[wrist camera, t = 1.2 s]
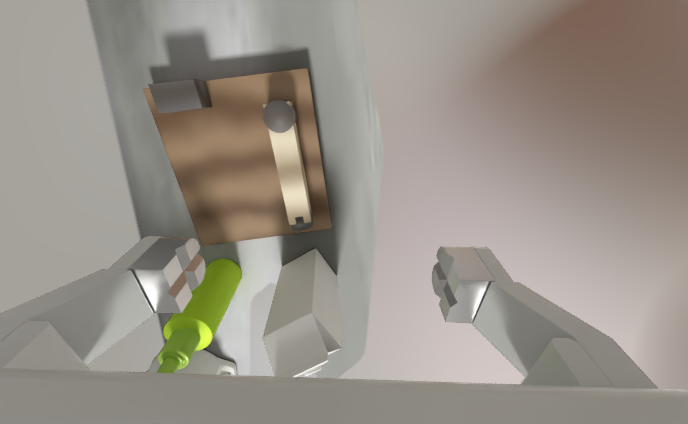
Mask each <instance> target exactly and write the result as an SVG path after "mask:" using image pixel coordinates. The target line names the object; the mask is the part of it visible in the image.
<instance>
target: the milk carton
mask: <svg viewBox="0 0 688 424" xmlns="http://www.w3.org/2000/svg"><path fill="white" fill-rule="evenodd" d="M263 341H264V345H265V348H266V351H267V354H268V357H269V360H270V363H271V366H272V369H273V373H274V376H275V377H297V376H299V375H301V374H303V373H304V375H305V376H308V375H311V374H313V373H315V372H317V371H319V370H321V369H322V366H321V365H322V364H324V363H326V362H328V355H329V354H331V353H333V352H335V351H337V350H339V349H341V348H342V342H341V327H340V311H339V296H338V281H337V276H336V275H335V273H334V272H333V271H332V269H331V268H330V267H329V265H328V264H327V262H326V261H325V260H324V258H323V257H322V256H321V254H320V253H319V252H318V250H317V249H316V248H315V249H313V250H311V251H309V252H307V253H306V254H304V255H302V256H300V257H298V258H297V259H295V260H293V261H291V262H289V263H288V264H286V265H284V266H282V268H281V271H280V275H279V279H278V282H277V286H276V290H275V294H274V297H273V301H272V305H271V309H270V312H269V316H268V320H267V324H266V327H265V331H264V335H263Z"/></svg>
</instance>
